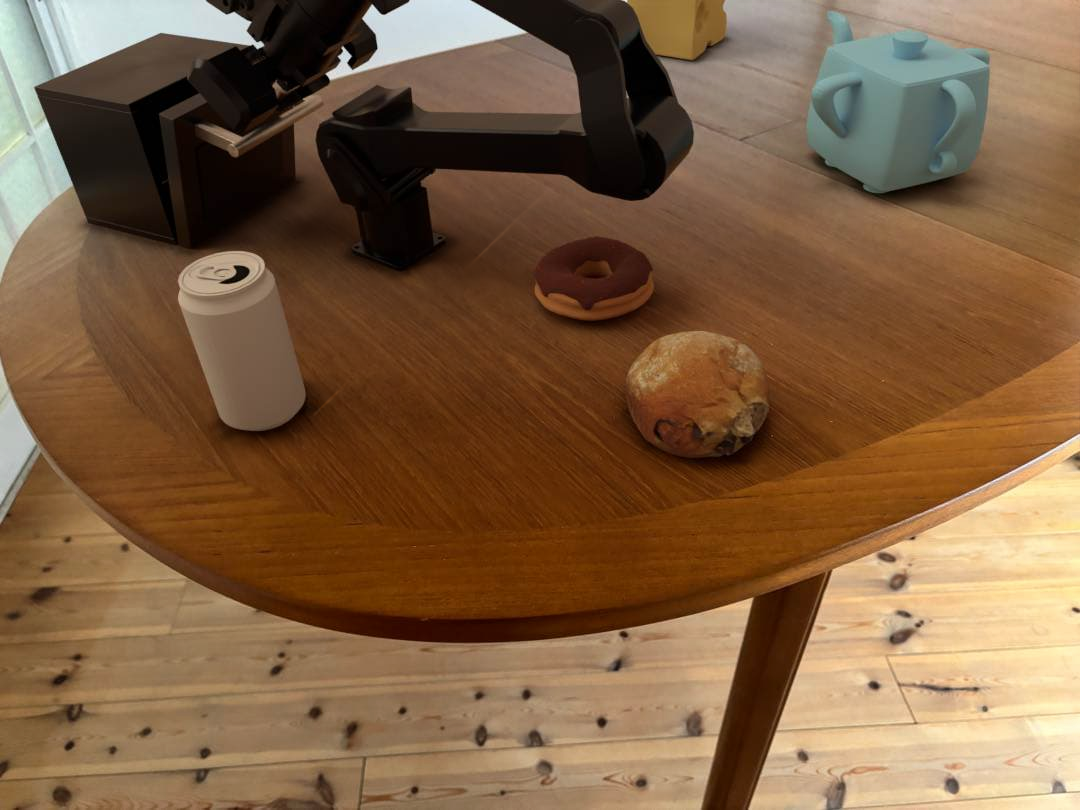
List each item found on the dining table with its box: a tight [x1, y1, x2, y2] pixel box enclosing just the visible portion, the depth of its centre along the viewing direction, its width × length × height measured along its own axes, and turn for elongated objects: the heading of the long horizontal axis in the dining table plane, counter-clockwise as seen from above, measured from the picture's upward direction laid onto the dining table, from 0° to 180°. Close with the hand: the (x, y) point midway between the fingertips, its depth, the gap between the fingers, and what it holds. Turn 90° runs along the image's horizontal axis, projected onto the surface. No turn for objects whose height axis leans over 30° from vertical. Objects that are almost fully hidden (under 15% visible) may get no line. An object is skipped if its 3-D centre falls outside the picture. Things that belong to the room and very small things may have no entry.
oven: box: [33, 32, 250, 246], centre depth 91 cm, size 12×16×14 cm
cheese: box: [626, 0, 728, 61], centre depth 122 cm, size 10×11×10 cm
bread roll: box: [625, 330, 770, 459], centre depth 64 cm, size 10×10×8 cm
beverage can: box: [177, 250, 307, 432], centre depth 64 cm, size 6×6×12 cm
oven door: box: [159, 93, 324, 250], centre depth 88 cm, size 7×16×14 cm, turn 153°
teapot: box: [806, 10, 991, 194], centre depth 90 cm, size 18×16×14 cm
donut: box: [533, 235, 655, 322], centre depth 77 cm, size 10×10×4 cm
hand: (253, 115), depth 84 cm, fingers closed
